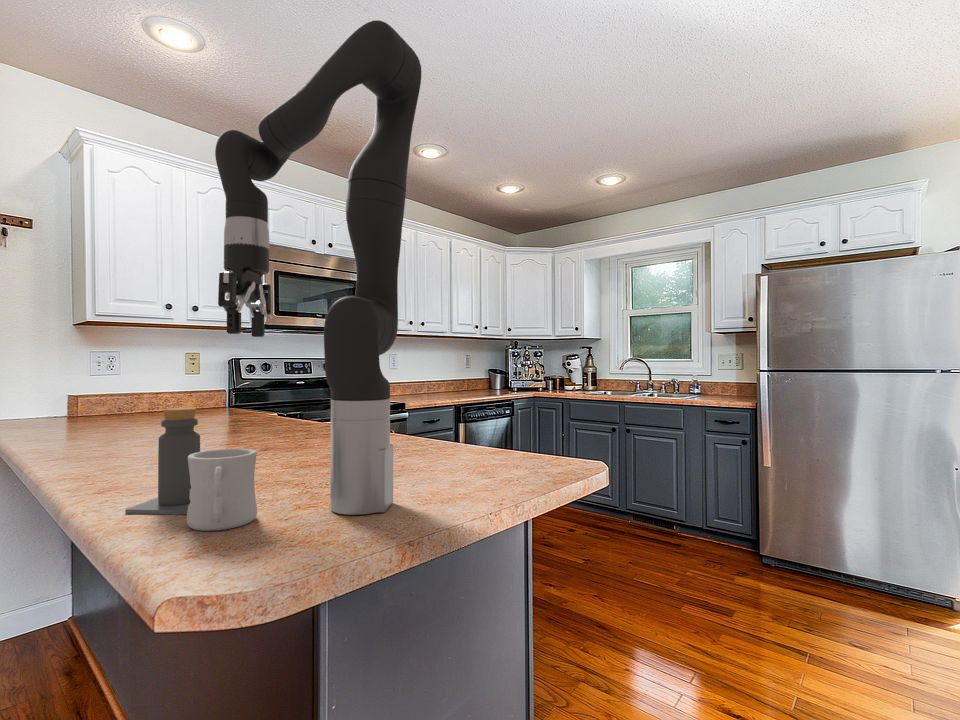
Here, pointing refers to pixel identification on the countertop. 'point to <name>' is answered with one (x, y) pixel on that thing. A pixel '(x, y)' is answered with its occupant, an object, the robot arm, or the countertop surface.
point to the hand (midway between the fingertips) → (246, 335)
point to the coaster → (157, 508)
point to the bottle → (176, 455)
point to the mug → (221, 489)
